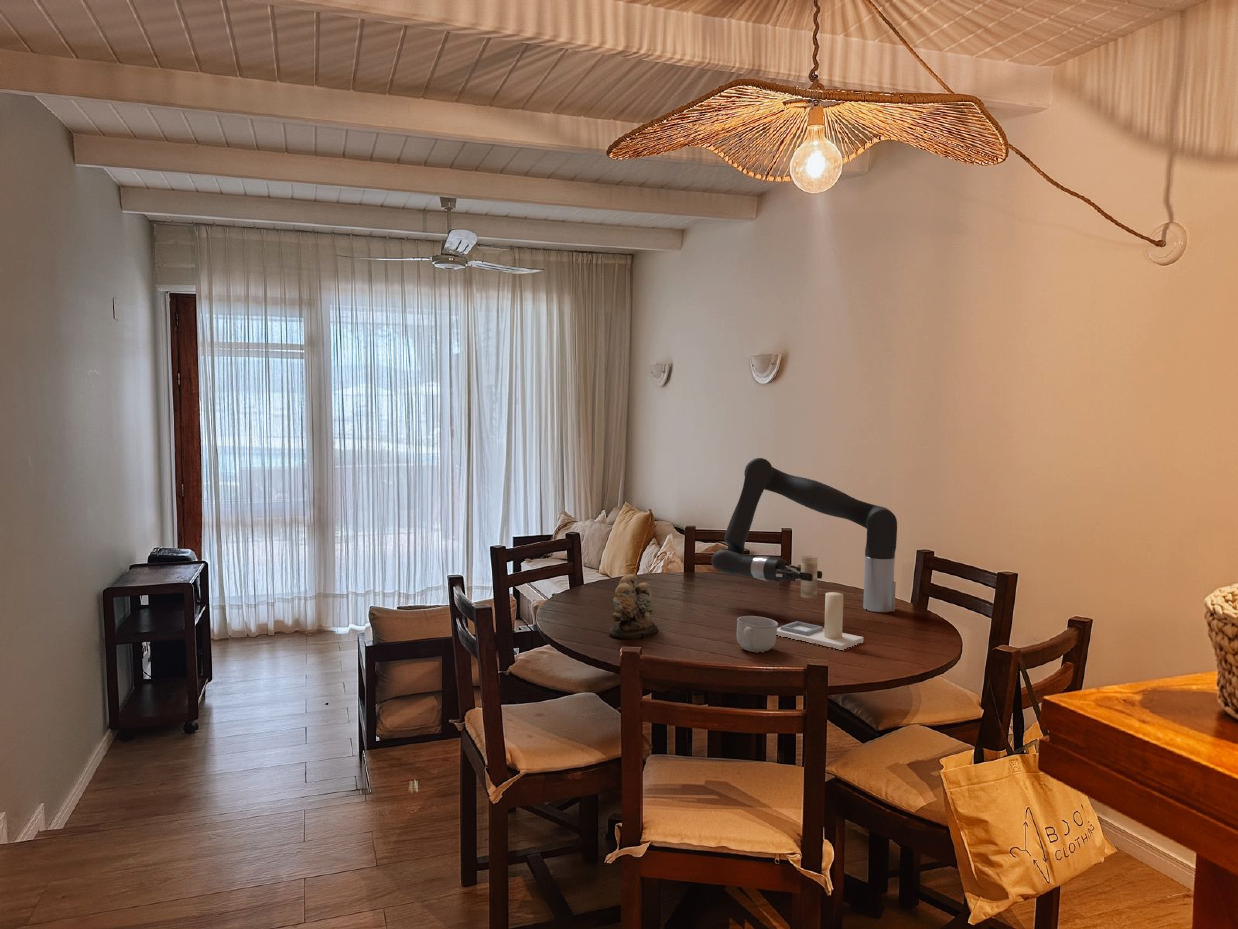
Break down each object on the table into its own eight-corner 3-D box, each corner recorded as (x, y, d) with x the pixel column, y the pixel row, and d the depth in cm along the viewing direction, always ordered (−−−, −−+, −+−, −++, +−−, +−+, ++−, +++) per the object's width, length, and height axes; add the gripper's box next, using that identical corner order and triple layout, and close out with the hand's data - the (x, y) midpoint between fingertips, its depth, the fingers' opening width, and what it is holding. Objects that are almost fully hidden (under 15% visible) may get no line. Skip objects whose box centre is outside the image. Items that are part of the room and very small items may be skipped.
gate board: (771, 634, 236) (773, 588, 235) (794, 627, 245) (795, 582, 244) (841, 651, 221) (843, 601, 220) (863, 642, 230) (864, 594, 229)
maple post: (815, 594, 252) (816, 556, 252) (818, 598, 248) (818, 558, 247) (799, 594, 253) (800, 555, 252) (801, 598, 248) (802, 558, 247)
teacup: (749, 641, 229) (750, 613, 229) (784, 649, 222) (785, 619, 222) (722, 652, 218) (722, 622, 218) (758, 660, 211) (759, 630, 211)
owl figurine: (632, 644, 226) (632, 582, 225) (597, 637, 232) (597, 577, 231) (666, 629, 240) (667, 571, 239) (633, 623, 247) (633, 567, 246)
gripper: (756, 560, 254) (804, 567, 243) (781, 554, 265) (829, 560, 253) (755, 584, 255) (804, 592, 243) (781, 577, 265) (829, 585, 253)
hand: (816, 576), depth 248 cm, fingers closed on maple post, 4 cm apart
